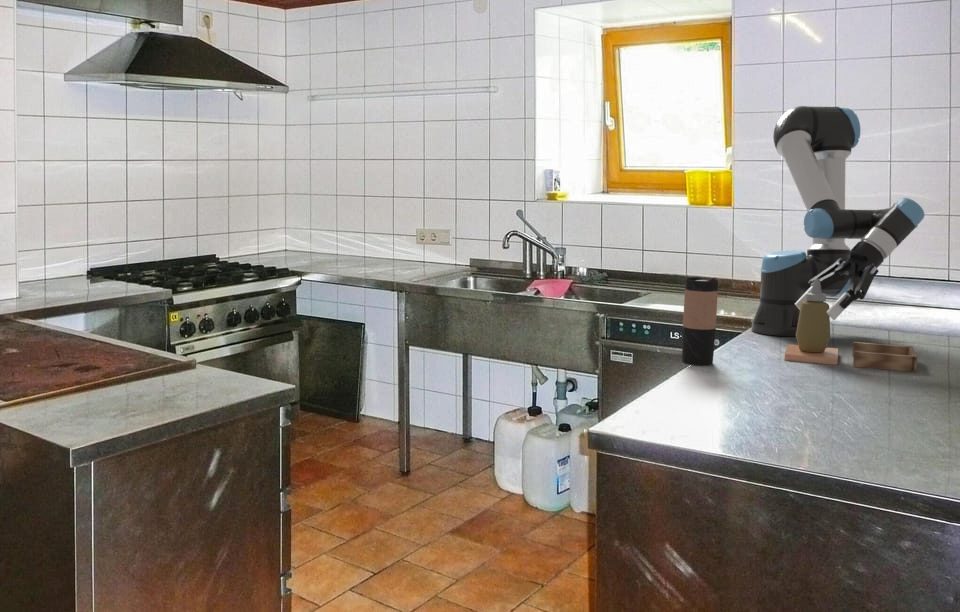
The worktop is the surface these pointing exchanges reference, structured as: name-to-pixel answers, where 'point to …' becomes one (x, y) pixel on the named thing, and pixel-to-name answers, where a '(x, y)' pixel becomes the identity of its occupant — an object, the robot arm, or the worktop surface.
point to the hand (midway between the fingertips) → (813, 311)
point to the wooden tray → (884, 356)
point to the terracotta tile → (811, 355)
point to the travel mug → (699, 321)
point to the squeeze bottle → (814, 321)
